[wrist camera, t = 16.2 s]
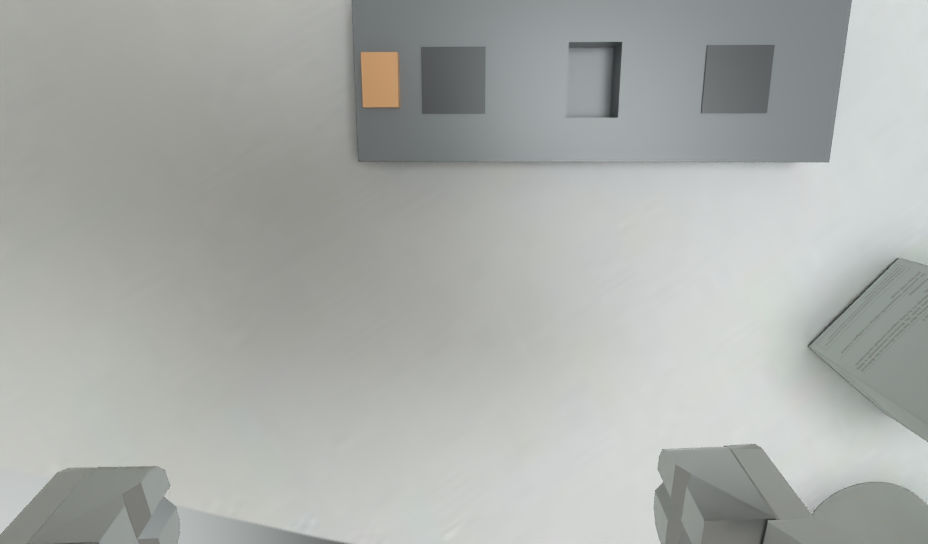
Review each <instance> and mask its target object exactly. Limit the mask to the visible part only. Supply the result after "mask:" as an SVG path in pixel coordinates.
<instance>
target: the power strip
mask: <svg viewBox="0 0 928 544" xmlns="http://www.w3.org/2000/svg"><path fill="white" fill-rule="evenodd" d="M851 2H852V0H352V22H353V46H354V71H355V95H356V120H357V144H358V162H829V159H830V152H831V145H832V138H833V131H834V123H835V116H836V109H837V102H838V95H839V88H840V80H841V73H842V66H843V59H844V52H845V45H846V37H847V30H848V23H849V16H850V9H851Z"/></svg>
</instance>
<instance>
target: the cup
mask: <svg viewBox="0 0 928 544" xmlns="http://www.w3.org/2000/svg"><path fill="white" fill-rule="evenodd" d="M812 516H813V517H814V518H815V519H826V520H828V521H830V522H831V523H833V524H835V525H837V526H838V527H840V528H842V529H844V530H845V531H847V532H849V533H851V534H852V535H854V536H856V537H857V538H859V539H861V540H863V541H864V542H866V543H868V544H928V505H927V504H926V503H925V502H924V501H922V500H921V499H920V498H919V497H918V496H916V495H915V494H914V493H912V492H911V491H909V490H907V489H905V488H903V487H900V486H897V485H894V484H890V483H882V482H869V483H862V484H857V485H853V486H850V487H847V488H845V489H843V490H840V491H838V492H837V493H835V494H833V495H832V496H830V497H829V498H827V499H826V500H825V501H824V502H823V503H821V504H820V505H819V506H818V508H817V509H816V510H815V511H814V512H813V514H812Z"/></svg>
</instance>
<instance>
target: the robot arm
mask: <svg viewBox="0 0 928 544" xmlns="http://www.w3.org/2000/svg"><path fill="white" fill-rule="evenodd" d="M658 471H659V473H660V476H661V478H662V480H663V483H662V484H661V485H660V486H659V487H658V488H657V489H656V490H655V497H654V515H655V525H656V529H657V533H658V536H659V540H660V542H661V544H868V543H866V542H864V541H863V540H861V539H859V538H857V537H856V536H854V535H852V534H851V533H849V532H847V531H845V530H844V529H842V528H840V527H838V526H837V525H835V524H833V523H831V522H830V521H828V520H826V519H815V518H814V517H813V516H812V514H811V513H810V512H809V510H808V509H807V508H806V506H805V505H804V504H803V502H802V501H801V500H800V498H799V497H798V496H797V494H796V493H795V492H794V490H793V489H792V488H791V486H790V485H789V484H788V482H787V481H786V480H785V478H784V477H783V476H782V474H781V473H780V472H779V470H778V469H777V468H776V466H775V465H774V464H773V462H772V461H771V460H770V458H769V457H768V456H767V454H766V453H765V452H764V450H763V449H762V448H761V447H759V446H758V445H756V444H747V445H729V446H724V447H702V448H677V449H662V451H661V453H660V456H659V462H658ZM169 487H170V483H169V481H168V478H167V475H166V472H165V470H164V469H162V468H160V467H158V466H141V467H97V468H67V469H64V470H62V471H60V472H57V473H56V475H55V476H54V477H53V478H52V479H51V480H50V481H49V482H48V483H47V484H46V485H45V487H44V488H43V489H42V490H41V491H40V492H39V493H38V494H37V495H36V496H35V497H34V498H33V500H32V501H31V502H30V503H29V504H28V505H27V506H26V507H25V508H24V509H23V510H22V512H21V513H20V514H19V515H18V516H17V517H16V518H15V519H14V521H12V522H11V524H10V525H9V526H8V527H7V528H6V529H5V530H4V531H3V532H2V533H1V534H0V544H177V543H178V539H179V534H180V521H179V516H178V512H177V508H176V506H174V505H173V504H172V503H171V502H170V501H168V500H167V499H166V498H165V497H164V495H165V494H166V492H167V490H168V489H169Z"/></svg>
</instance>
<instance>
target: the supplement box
mask: <svg viewBox="0 0 928 544" xmlns="http://www.w3.org/2000/svg"><path fill="white" fill-rule="evenodd" d="M809 348H810V349H811V350H813V351H814V352H815V353H816V354H817V355H818V356H819V357H821V358H822V359H823V360H824V361H825V362H826V363H828V364H829V365H830V366H831V367H832V368H833V369H834V370H836V371H837V372H838V373H839V374H840V375H841V376H842V377H843V378H845V379H846V380H847V381H848V382H849V383H850V384H851V385H853V386H854V387H855V388H856V389H857V390H858V391H860V392H861V393H862V394H863V395H864V396H866V397H867V398H868V399H869V400H870V401H872V402H873V403H874V404H875V405H876V406H877V407H879V408H880V409H881V410H882V411H883V412H885V413H886V414H887V415H888V416H890V417H891V418H893V419H894V420H896V421H897V422H899V423H900V424H902V425H903V426H905V427H906V428H908V429H909V430H911V431H912V432H914V433H915V434H917V435H918V436H920V437H921V438H923V439H924V440H926V441H927V442H928V266H926V265H923V264H919V263H915V262H912V261H908V260H904V259H897V260H896V261H895V262H894V263H893V264H892V265H891V266H890V267H889V268H888V269H887V270H886V271H885V272H884V273H883V274H882V275H881V276H880V277H879V278H878V279H877V280H876V281H875V282H874V283H873V284H872V285H871V286H870V287H869V288H868V289H867V290H866V291H865V292H864V293H863V294H862V295H861V296H860V297H859V298H858V299H857V300H856V301H855V302H854V303H853V304H852V305H851V306H850V307H849V308H848V309H847V310H846V311H845V312H844V313H843V314H842V315H841V316H839V317H838V318H837V319H836V320H835V321H834V322H833V323H832V324H831V325H830V326H829V327H828V328H827V329H826V330H825V331H824V332H823V333H822V334H821V335H820V336H819V337H818V338H817V339H816V340H815V341H814V342H813V343H812V344H811V345H810V346H809Z"/></svg>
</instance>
